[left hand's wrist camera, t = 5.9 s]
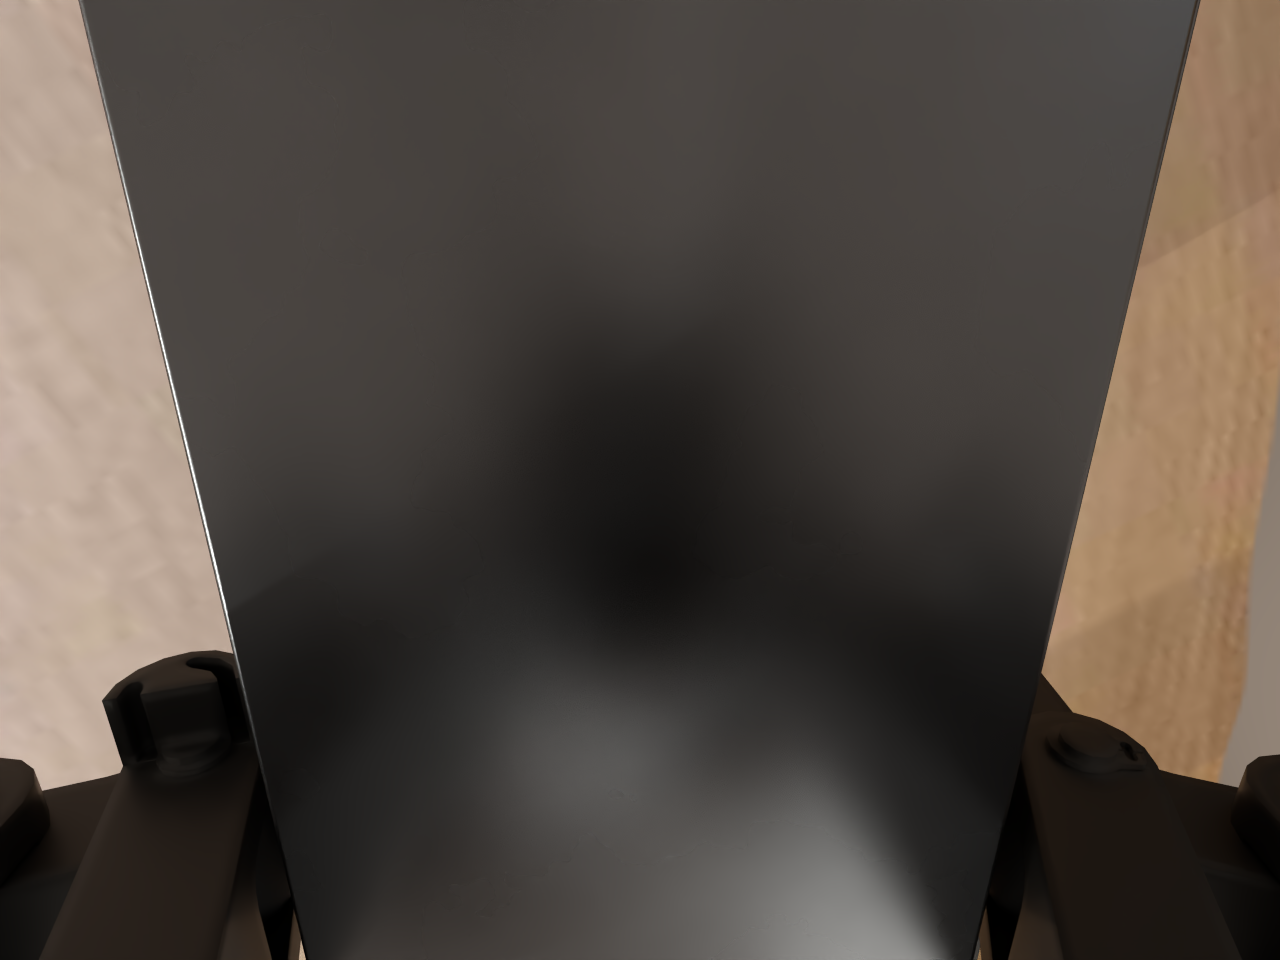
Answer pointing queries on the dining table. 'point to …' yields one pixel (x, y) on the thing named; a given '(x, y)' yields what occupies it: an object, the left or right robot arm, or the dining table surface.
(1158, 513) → the dining table surface
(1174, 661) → the dining table surface
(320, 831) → the bar
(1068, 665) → the dining table surface
